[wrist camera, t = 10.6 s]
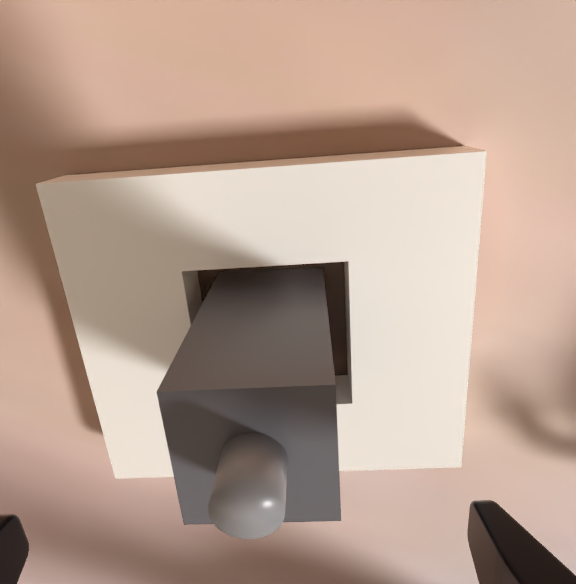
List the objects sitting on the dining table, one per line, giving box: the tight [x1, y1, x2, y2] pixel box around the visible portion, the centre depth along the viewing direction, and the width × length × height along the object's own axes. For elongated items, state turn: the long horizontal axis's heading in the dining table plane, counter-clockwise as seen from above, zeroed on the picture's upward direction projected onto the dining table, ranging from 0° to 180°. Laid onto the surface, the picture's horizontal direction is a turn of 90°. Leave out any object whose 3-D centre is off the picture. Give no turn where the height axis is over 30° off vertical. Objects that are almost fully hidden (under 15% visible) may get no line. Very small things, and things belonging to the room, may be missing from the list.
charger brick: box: [157, 267, 341, 539], centre depth 14 cm, size 4×4×10 cm
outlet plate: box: [35, 146, 487, 479], centre depth 17 cm, size 14×12×2 cm
